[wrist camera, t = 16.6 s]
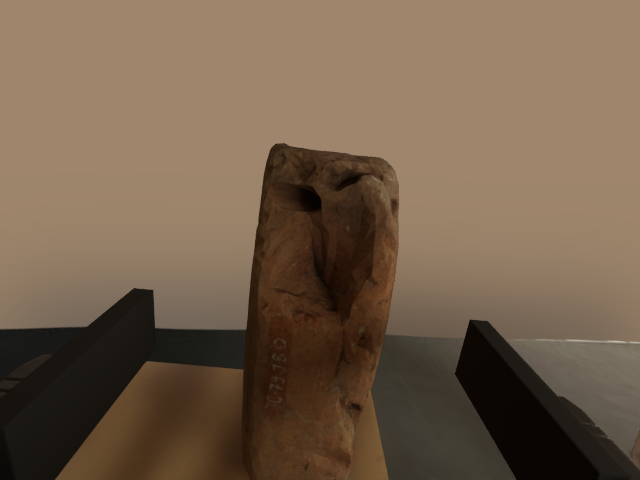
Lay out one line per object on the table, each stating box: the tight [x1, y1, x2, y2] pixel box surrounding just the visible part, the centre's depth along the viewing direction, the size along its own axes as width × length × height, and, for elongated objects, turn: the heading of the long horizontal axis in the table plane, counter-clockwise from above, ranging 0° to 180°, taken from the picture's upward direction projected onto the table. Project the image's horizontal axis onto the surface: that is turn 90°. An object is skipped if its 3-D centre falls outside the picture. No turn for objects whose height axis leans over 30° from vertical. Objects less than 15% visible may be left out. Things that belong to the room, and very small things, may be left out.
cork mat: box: [55, 361, 389, 480], centre depth 23 cm, size 20×14×1 cm
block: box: [241, 143, 399, 480], centre depth 20 cm, size 11×8×20 cm
